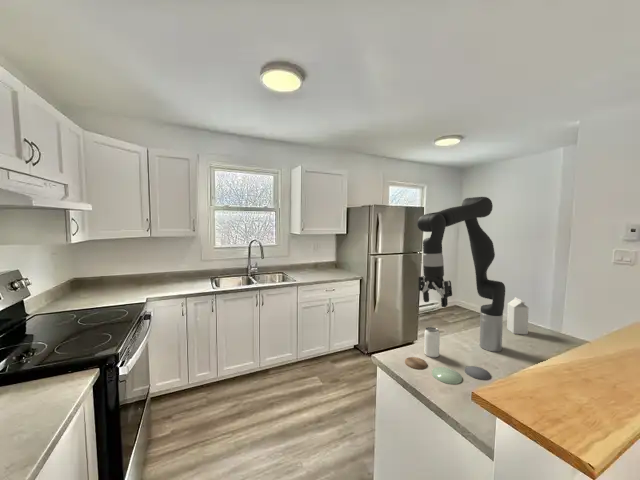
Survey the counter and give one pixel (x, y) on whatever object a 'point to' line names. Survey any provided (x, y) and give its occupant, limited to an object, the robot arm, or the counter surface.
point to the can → (431, 342)
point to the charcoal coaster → (477, 372)
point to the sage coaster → (446, 375)
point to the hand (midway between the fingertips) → (435, 304)
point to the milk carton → (517, 317)
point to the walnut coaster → (415, 363)
